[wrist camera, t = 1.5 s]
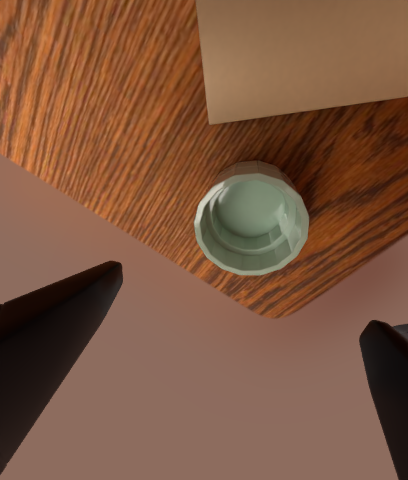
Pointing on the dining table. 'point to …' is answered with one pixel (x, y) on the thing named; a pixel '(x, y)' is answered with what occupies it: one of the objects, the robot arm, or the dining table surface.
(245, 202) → the bowl
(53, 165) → the dining table surface
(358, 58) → the plate
